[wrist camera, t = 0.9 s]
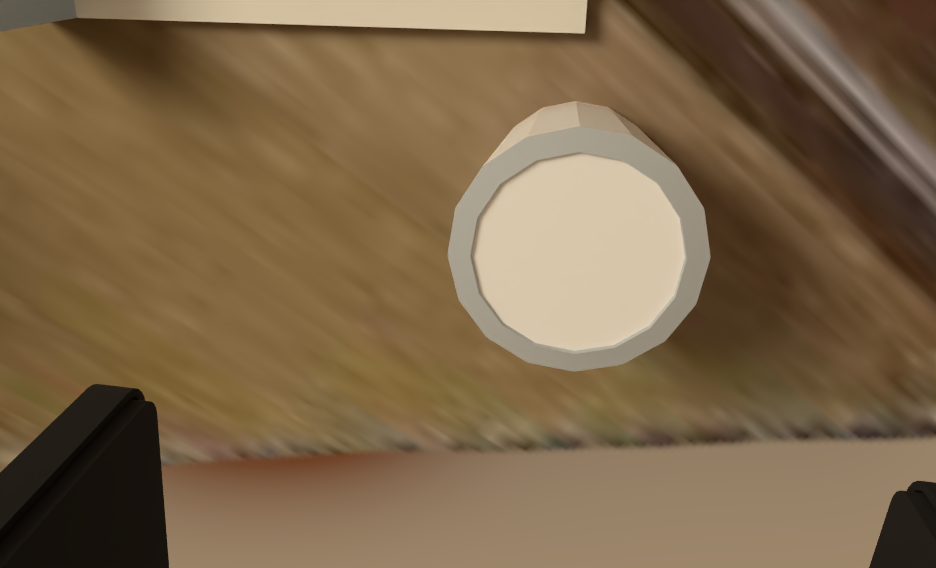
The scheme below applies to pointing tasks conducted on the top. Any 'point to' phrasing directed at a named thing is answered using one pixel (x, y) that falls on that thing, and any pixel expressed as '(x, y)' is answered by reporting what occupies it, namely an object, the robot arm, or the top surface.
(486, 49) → the top surface
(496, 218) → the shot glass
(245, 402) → the top surface
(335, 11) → the arena
